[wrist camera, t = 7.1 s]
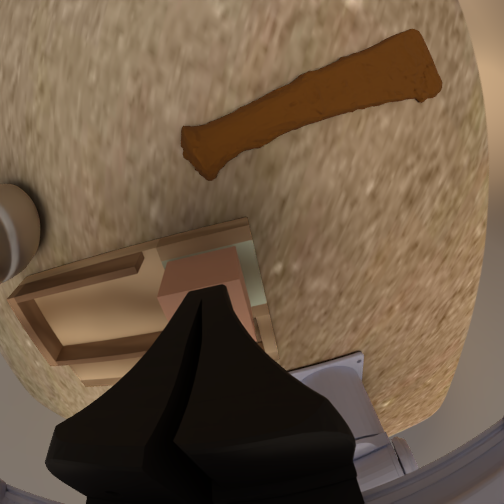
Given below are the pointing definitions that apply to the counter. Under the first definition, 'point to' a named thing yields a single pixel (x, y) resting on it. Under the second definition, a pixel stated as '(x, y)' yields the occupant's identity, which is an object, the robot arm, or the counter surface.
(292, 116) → the primitive tool
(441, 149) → the counter surface
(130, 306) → the board
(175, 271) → the block
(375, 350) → the counter surface
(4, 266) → the plastic bottle
